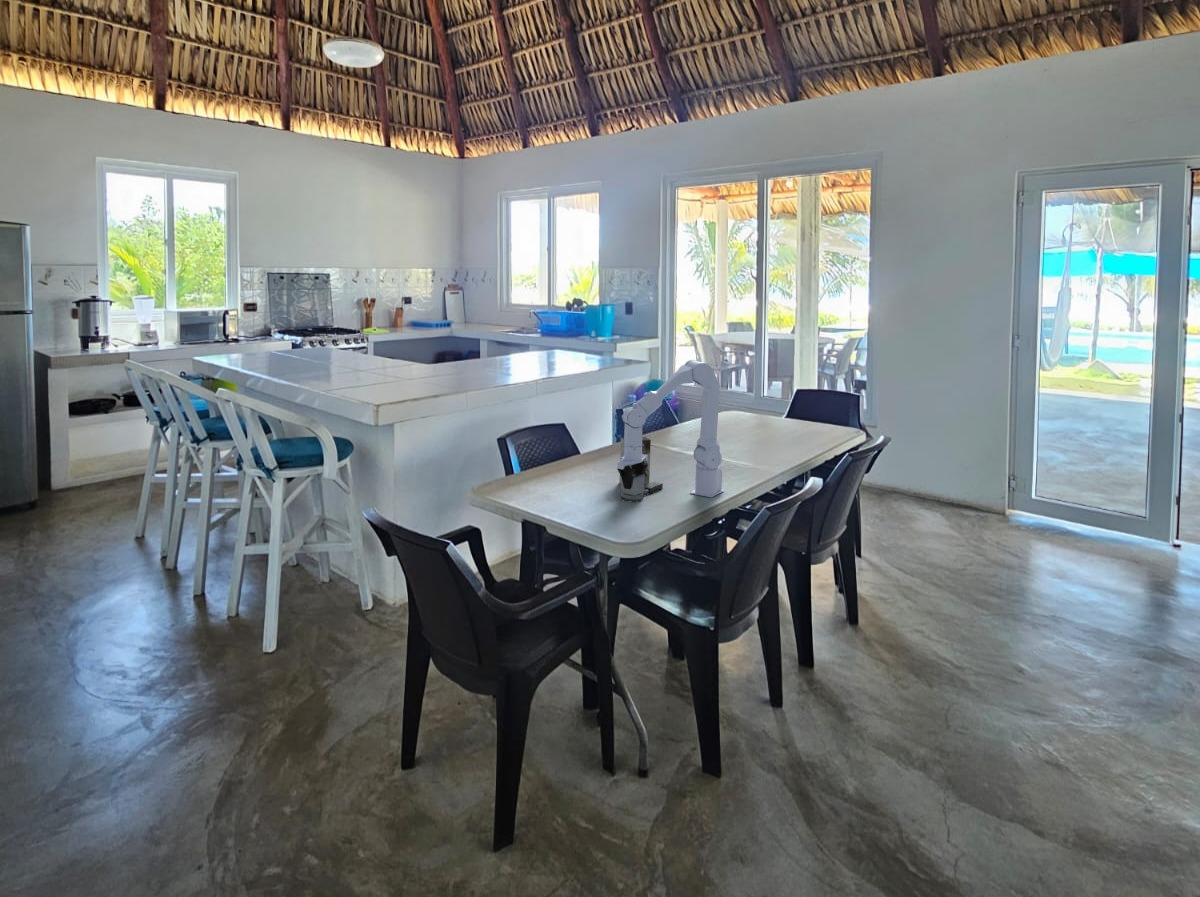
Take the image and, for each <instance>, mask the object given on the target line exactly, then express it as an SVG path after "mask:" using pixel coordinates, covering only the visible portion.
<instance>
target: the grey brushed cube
mask: <svg viewBox="0 0 1200 897" xmlns="http://www.w3.org/2000/svg"><path fill="white" fill-rule="evenodd" d="M644 482H645V474H642V473H637V472H634V473H633V476H632V483H631V488H630V489H625V488H624V486H623V481H622V478H621V483H620V493H625V494H629V495H634V496H636V495H638V494H641V493H643V492H644Z"/></svg>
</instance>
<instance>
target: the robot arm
mask: <svg viewBox="0 0 1200 897" xmlns="http://www.w3.org/2000/svg"><path fill="white" fill-rule="evenodd" d="M694 383H695V384H697V385H698V387H699V388H701V389H702V399H701V400H702V401H701V416H700V417H701V418H700V419H701V420H700V433H699V434H700V435H699V438H698V439H697V440H696V446H695V449H694V450H693V458H694V460H695V461H696V464H695V485H694V486H695V487H694V489H693V490H691V491H690V492H689V494H692V495H695V496H696V495H697V496H702V497H706V498H714V497H715V496H717V495H719V494H721V493H723V492H724V491H725V489H723V471H722V469H721V467H720V465H721V463H722V461H723V460H722V459H723V458H722V454H721V451H720V450H721V448H720V447H721V446H720V445H719V441H718V440H717V437H718V421H719V408H720V406H719V404H720V394H721V393H720V392H721V391H720V389H721V384H720V382H719V380H718V377H717V375H716V373H715V369H714V368H713V367H712V366H711V365H709V363H706V362H701V361H698V360H695V359H690V360H688V361H686V362H685V363H684V364H683V365H681V366H680V367H679V368H678V369H677V370H676V372H674V373H673V374H672V375H671V376H670V377H669V378H668V379H667V380H666V381H664V383H662V385H661V386H660V387H658V389H656V390H654V391H653V390H649V391H648V392H647V391H645V392H644V393H643V397H641V398H640V399H639V400H638V401H637V402H633V403H632V406H631V407H630V406H629V407H627V408H625V410H624V411H623V413H622V415H621V419H622V422H623V423H624V431H623V432H624V435H623V438H624V457H621V461H620V460H619V461H618V462H617V463H616V464H617V466H616V467H617V468H616V470H617V472H618V474H619V476H620V475H621V478H622V481H623V486H624V488H625V489H630V488H631V483H632V476H633V473H634V472H637V473H642V474H644V472H645V470H646V468H647V466H648V463H645V462H644V461H648V455H644V454H642V437H643V425H644V424H645V423H646V421H647V420H646V419H647V418H648V417H650V416H651V415H652V414H653V413H654V412H655V411H656V410H658V409H659V408H660V407H661V406H663V401H664V399H665V398H666V397H667V396H668V395H670V394H671V393H673V392H674V391H675V390H676V389H678V388H680V386H682V385H685V384H686V385H687V384H694ZM630 466H632V469H631V467H630Z"/></svg>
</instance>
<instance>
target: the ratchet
mask: <svg viewBox="0 0 1200 897" xmlns="http://www.w3.org/2000/svg"><path fill="white" fill-rule="evenodd" d="M663 484H664V483H663V482H658V481H652V482H649V484H647V485H644V492H643V493H641V494H638V495H636V496H634V495H629V494H625V493H621V492H620V493H621V494H620V496H621V501H623V500H624V502H627V501H632V502H631V503H637V502H636V501H638V502H641V500H642V501H643V500H644V497H645V495H646V496H648V495H651V494H654V493H656V492H660V490H663V489H664V488H663Z"/></svg>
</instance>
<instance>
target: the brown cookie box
mask: <svg viewBox="0 0 1200 897" xmlns="http://www.w3.org/2000/svg"><path fill="white" fill-rule="evenodd" d="M651 441H652V440H651V439H650V438H648V437H647V436H642V454H644V455H648V461H644V462H645V463H648V466H647V468H646V470H645V472H644V474H645V482H644V485H647V484H649V483H650V477H651V476H650V474H651V472H650V471H651V468H650V467H651V443H652V442H651ZM621 457H624V437H620V456H619V458H620V460H619V462H620V461H621ZM630 467H631V469H632V466H630ZM619 484H621V475H620V474H619Z"/></svg>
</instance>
